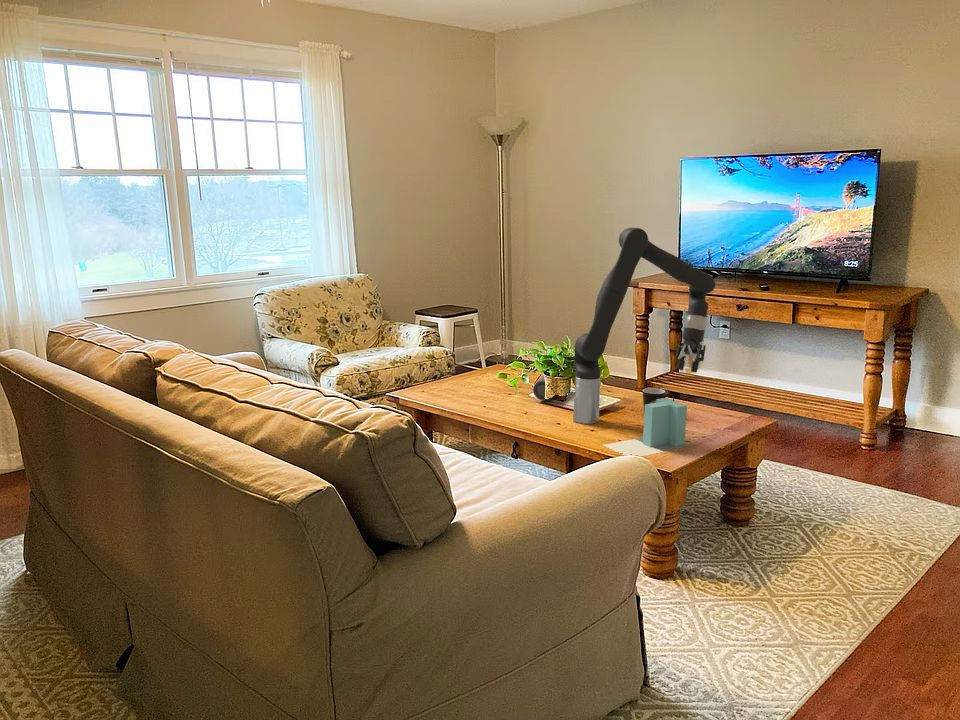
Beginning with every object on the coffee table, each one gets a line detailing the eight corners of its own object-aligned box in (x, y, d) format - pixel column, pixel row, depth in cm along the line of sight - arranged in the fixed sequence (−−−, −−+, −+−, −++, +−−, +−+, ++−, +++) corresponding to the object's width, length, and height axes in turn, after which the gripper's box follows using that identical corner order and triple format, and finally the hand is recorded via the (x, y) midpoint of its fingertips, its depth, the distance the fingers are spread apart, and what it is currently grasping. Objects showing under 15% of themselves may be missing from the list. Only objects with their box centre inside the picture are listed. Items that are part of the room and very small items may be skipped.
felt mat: (660, 436, 282) (661, 433, 282) (690, 448, 269) (690, 446, 269) (602, 447, 270) (602, 444, 270) (630, 460, 257) (630, 458, 257)
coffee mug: (638, 416, 305) (639, 392, 303) (644, 411, 312) (646, 387, 310) (668, 421, 300) (669, 395, 297) (674, 415, 307) (675, 390, 305)
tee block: (662, 435, 280) (665, 397, 277) (684, 444, 270) (686, 405, 267) (636, 440, 274) (638, 402, 271) (657, 450, 265) (659, 410, 262)
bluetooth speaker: (553, 404, 321) (553, 380, 319) (531, 402, 325) (532, 378, 323) (569, 391, 342) (569, 368, 340) (548, 389, 345) (549, 366, 343)
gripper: (675, 325, 298) (667, 367, 299) (697, 327, 285) (690, 371, 285) (691, 328, 301) (683, 370, 301) (714, 330, 288) (706, 374, 288)
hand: (686, 371), depth 293 cm, fingers open, 8 cm apart
